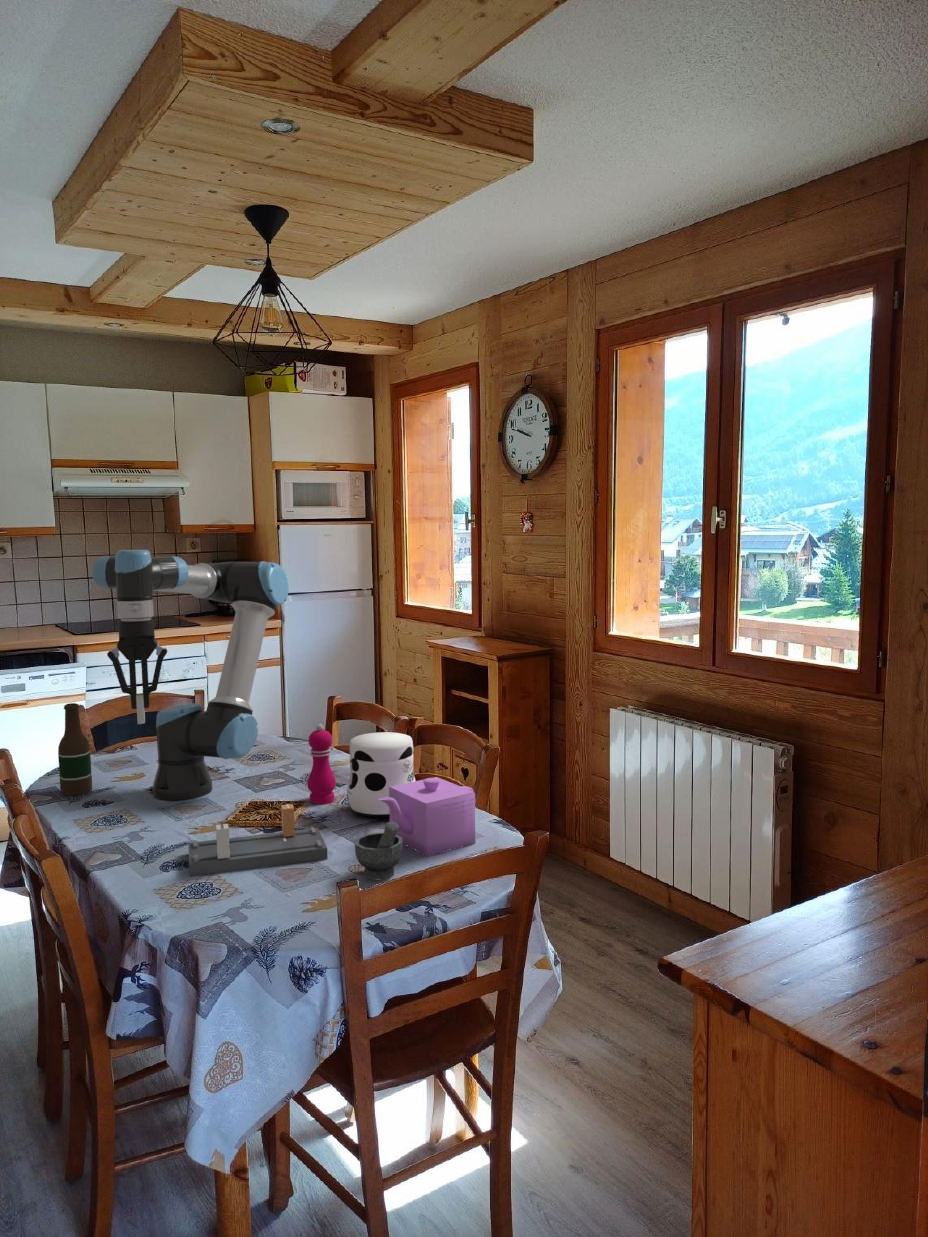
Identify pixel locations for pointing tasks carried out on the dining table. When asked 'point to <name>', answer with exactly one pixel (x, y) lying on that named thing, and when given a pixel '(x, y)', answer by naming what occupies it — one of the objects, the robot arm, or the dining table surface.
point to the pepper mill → (321, 768)
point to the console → (257, 852)
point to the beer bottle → (74, 756)
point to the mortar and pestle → (379, 852)
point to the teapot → (433, 814)
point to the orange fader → (288, 820)
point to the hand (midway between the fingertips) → (141, 722)
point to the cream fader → (223, 841)
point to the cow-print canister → (378, 770)
